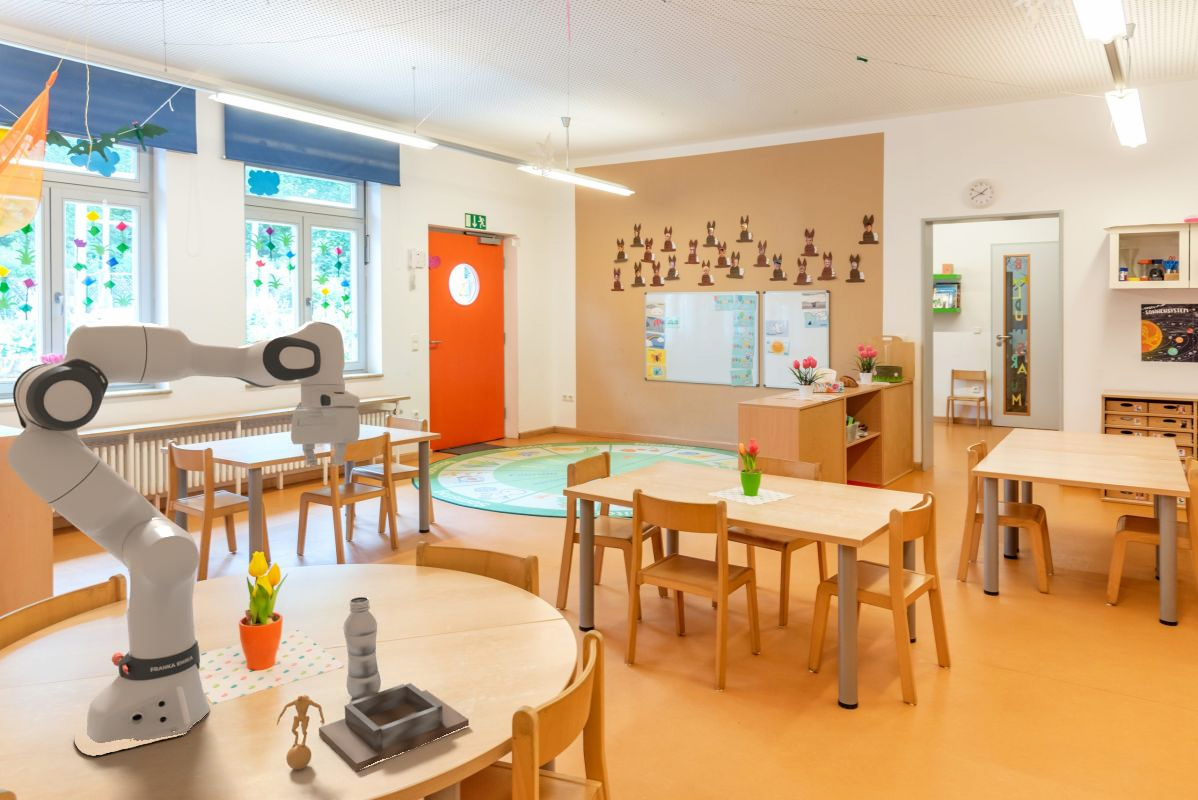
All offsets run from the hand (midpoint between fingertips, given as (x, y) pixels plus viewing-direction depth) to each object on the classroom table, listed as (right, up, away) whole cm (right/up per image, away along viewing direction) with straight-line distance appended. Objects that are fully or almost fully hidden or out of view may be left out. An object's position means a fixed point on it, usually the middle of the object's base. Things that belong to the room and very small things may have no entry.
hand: (324, 465), depth 174 cm
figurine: (+6, -49, -31) cm, 58 cm away
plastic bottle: (+10, -46, -6) cm, 48 cm away
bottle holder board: (+20, -47, -20) cm, 55 cm away
